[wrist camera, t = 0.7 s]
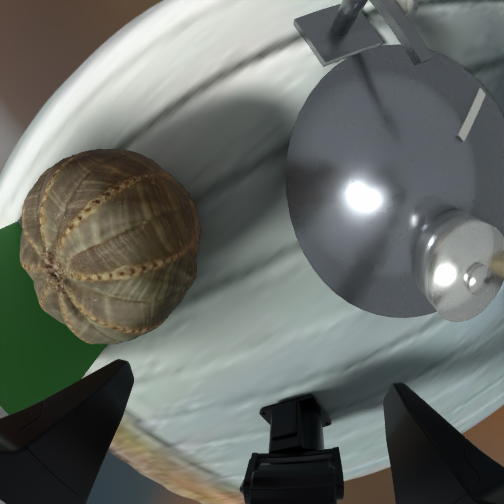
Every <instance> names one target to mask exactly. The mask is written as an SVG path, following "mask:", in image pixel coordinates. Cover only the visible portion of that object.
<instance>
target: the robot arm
mask: <svg viewBox="0 0 504 504" xmlns="http://www.w3.org/2000/svg"><path fill="white" fill-rule="evenodd" d="M133 383H134V376H133V373H132V370H131V367H130V364H129V362H128V361H125V360H121V359H117V360H115V361H113V362H111V363H110V364H108V365H106V366H104V367H102V368H101V369H99V370H97V371H95V372H93V373H92V374H90V375H88V376H86V377H84V378H82V379H81V380H79V381H77V382H75V383H73V384H71V385H70V386H68V387H66V388H64V389H62V390H60V391H58V392H57V393H55V394H53V395H51V396H49V397H47V398H45V399H44V400H41V401H39V402H37V403H36V404H33V405H31V406H29V407H27V408H25V409H23V410H20V411H18V412H16V413H13V414H10V415H8V416H5V417H2V418H0V504H86V501H87V499H88V497H89V494H90V492H91V489H92V487H93V484H94V482H95V479H96V477H97V474H98V472H99V470H100V467H101V465H102V462H103V460H104V458H105V455H106V453H107V451H108V449H109V446H110V444H111V442H112V439H113V437H114V435H115V433H116V430H117V428H118V426H119V424H120V422H121V419H122V417H123V414H124V411H125V408H126V405H127V402H128V399H129V396H130V393H131V390H132V387H133ZM383 406H384V417H385V429H386V441H387V447H388V453H389V459H390V465H391V471H392V478H393V485H394V492H395V501H396V504H504V467H503V466H501V465H500V464H499V463H497V462H496V461H494V460H493V459H491V458H490V457H489V456H487V455H486V454H485V453H483V452H482V451H481V450H479V449H478V448H477V447H476V446H475V445H473V444H472V443H471V442H470V441H469V440H468V439H465V437H464V436H463V435H462V434H461V433H460V432H459V431H458V430H456V429H455V428H454V427H453V426H452V425H451V424H450V423H449V422H447V421H446V420H445V419H444V418H443V417H442V416H441V415H440V414H438V413H437V412H436V411H435V410H434V409H433V408H432V407H431V406H429V405H428V404H427V403H426V402H425V401H424V400H423V399H422V398H420V397H419V396H418V395H417V394H416V393H415V392H414V391H412V390H411V389H410V388H409V387H408V386H407V385H406V384H404V383H402V382H400V383H393V384H392V385H391V386H390V388H389V390H388V392H387V394H386V396H385V398H384V402H383ZM260 415H261V416H262V417H263V418H264V419H265V420H266V421H267V422H268V423H269V424H270V425H271V426H270V443H269V453H262V454H258V453H252V457H251V459H250V460H249V464H248V467H247V471H246V475H245V478H244V480H243V482H242V484H241V487H240V492H241V493H242V494H243V495H244V500H245V503H246V504H336V501H342V500H343V496H344V481H343V471H342V465H341V458H340V452H339V447H334V448H332V449H324V439H323V427H325V426H329V425H331V419H330V418H329V416H328V415H327V413H326V412H325V411H324V409H323V408H322V406H321V405H320V403H319V402H318V400H317V399H316V398H315V396H314V395H308V396H305V397H302V398H298V399H295V400H292V401H288V402H285V403H281V404H278V405H274V406H270V407H267V408H263V409H261V410H260Z"/></svg>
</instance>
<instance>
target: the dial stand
mask: <svg viewBox="0 0 504 504" xmlns="http://www.w3.org/2000/svg"><path fill="white" fill-rule="evenodd" d="M367 1H368V0H343V1H342V3H341V4H339V5H336V6H332V7H329V8H326V9H322V10H319V11H316V12H313V13H310V14H308V15H305V16H302V17H299V18H297V19H294V26H295V27H296V29H297V30H298V31H299V33H300V34H301V35H302V37H303V38H304V40H305V41H306V42H307V44H308V45H309V46H310V48H311V49H312V51H313V52H314V54H315V55H316V57H317V58H318V60H319V61H320V63H321V64H322V66H326V65H328V64H331V63H333V62H336V61H338V60H341V59H344V58H346V57H349V56H352V55H355V54H357V53H359V52H362V51H364V50H366V49H370V48H375V47H379V46H380V45H381V44H382V43H383V41H382V40H381V38H380V37H379V35H378V34H377V32H376V31H375V30H374V28H373V27H372V25H371V24H370V23H369V21H368V20H367V19H366V17H365V16H364V15H363V13H362V12H361V10H362V9H363V7H364V6H365V4H366V2H367ZM370 2H371V3H372V4H373V5H374V7H375V8H376V9H377V10H378V12H379V13H380V14H381V16H382V17H383V18H384V20H385V21H386V23H387V24H388V25H389V27H390V28H391V30H392V31H393V33H394V34H395V35H396V37H397V38H398V40H399V42H400V43H401V45H402V46H403V48H404V49H405V51H406V53H407V54H408V56H409V58H410V59H411V61H412V63H413V64H414V66H415V65H419V64H422V63H425V62H427V61H429V60H431V59H433V57H432V55H431V54H430V52H429V50H428V49H427V47H426V45H425V44H424V42H423V40H422V39H421V37H420V36H419V34H418V33H417V31H416V30H415V28H414V27H413V25H412V24H411V22H410V21H409V19H408V18H407V17H409V16H412V15H414V14H415V13H416V11H417V9H418V0H370Z"/></svg>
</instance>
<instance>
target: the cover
mask: <svg viewBox="0 0 504 504" xmlns="http://www.w3.org/2000/svg"><path fill="white" fill-rule="evenodd" d="M412 272H413V277H414V280H415V283H416V285H417V287H418V288H419V289H420V290H421V292H422V293H423V294H424V295H425V297H426V298H427V299H428V300H429V302H430V303H431V304H432V305H433V307H434V308H435V309H436V310H437V312H438V313H439V314H440V315H441V316H442V317H443V318H444V319H446V320H448V321H451V322H462V321H466V320H469V319H471V318H473V317H475V316H476V315H478V314H479V313H481V312H482V311H483V310H484V309H485V308H486V307H487V306H488V305H489V304H490V303H491V302H492V300H493V299H494V298H495V296H496V295H497V293H498V291H499V289H500V288H501V285H502V283H503V280H504V237H503V235H502V233H501V232H500V231H499V230H498V229H497V228H496V227H494V226H492V225H490V224H488V223H486V222H484V221H482V220H480V219H478V218H476V217H474V216H472V215H470V214H468V213H465V212H463V211H458V210H453V211H448V212H445V213H443V214H440V215H439V216H437V217H436V218H435V219H433V220H432V221H431V222H430V223H429V224H428V225H427V227H426V228H425V229H424V230H423V232H422V234H421V235H420V237H419V239H418V241H417V244H416V246H415V250H414V253H413V259H412Z"/></svg>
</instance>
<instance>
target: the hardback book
mask: <svg viewBox="0 0 504 504" xmlns="http://www.w3.org/2000/svg"><path fill="white" fill-rule="evenodd" d="M21 234H22V229H21V228H20V226H19V224H18V223H17V222H15V223H13V224H11V225H9V226H6V227H4V228H2V229H0V418H2V417H5V416H8V415H10V414H13V413H16V412H18V411H20V410H23V409H25V408H27V407H29V406H31V405H33V404H36V403H37V402H39V401H41V400H44V399H45V398H47V397H49V396H51V395H53V394H55V393H57V392H58V391H60V390H62V389H64V388H66V387H68V386H70V385H71V384H73V383H75V382H77V381H79V380H81V379H82V377H83V376H84V375H85V373H86V372H87V371H88V369H89V368H90V366H91V365H92V364H93V363H94V361H95V360H96V359H97V357H98V356H99V355H100V353H101V352H102V351H103V349H104V348H105V347H106V346H107V344H90V343H86V342H85V341H83V340H81V339H80V338H78V337H77V336H76V335H75V334H74V333H73V332H72V331H71V330H70V329H69V328H68V327H67V325H65V324H63V323H61V322H59V321H58V320H56V319H55V318H53V317H52V316H51V315H49V314H48V313H47V312H45V311H44V310H43V309H42V307H41V306H40V304H39V301H38V297H37V294H36V291H35V289H34V281H33V280H32V279H31V277H30V276H29V274H28V273H27V271H26V270H25V269H24V268H23V267H22V265H21V261H20V243H21Z"/></svg>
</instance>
